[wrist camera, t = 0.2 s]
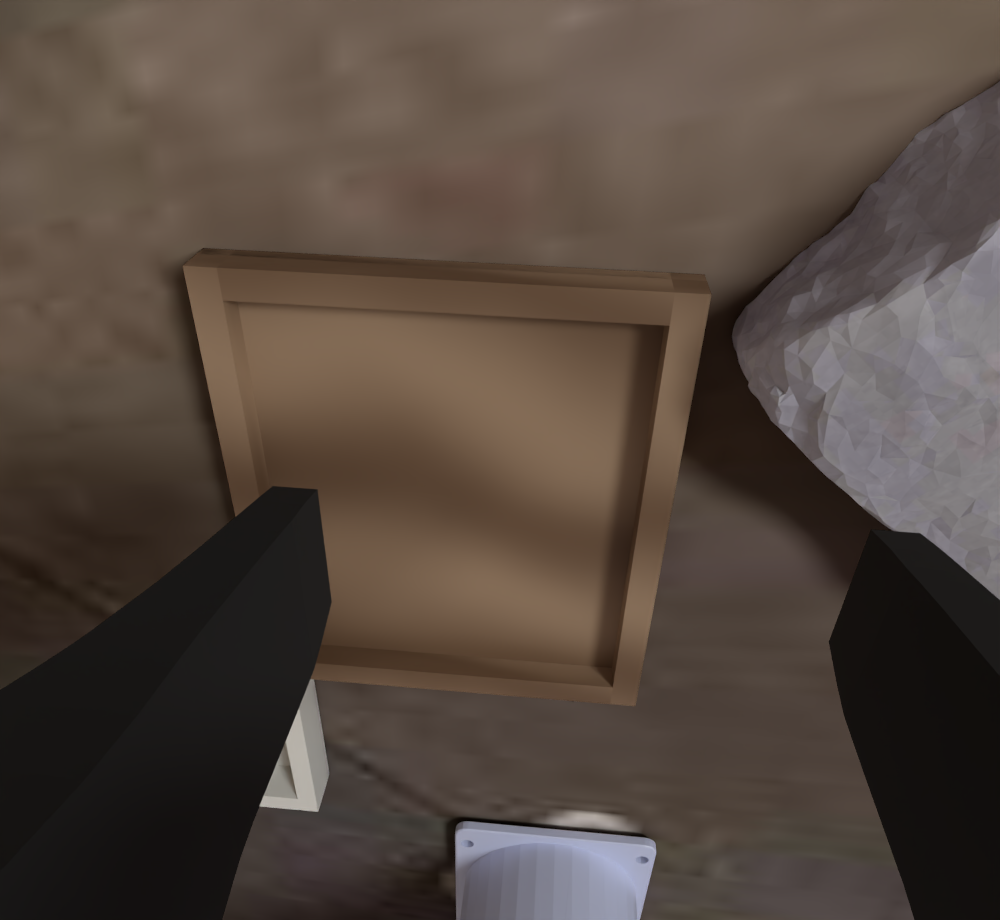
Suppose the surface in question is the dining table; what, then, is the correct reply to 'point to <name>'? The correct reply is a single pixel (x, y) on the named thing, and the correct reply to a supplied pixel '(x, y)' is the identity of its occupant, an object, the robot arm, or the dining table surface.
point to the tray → (462, 454)
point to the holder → (301, 761)
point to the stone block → (900, 343)
